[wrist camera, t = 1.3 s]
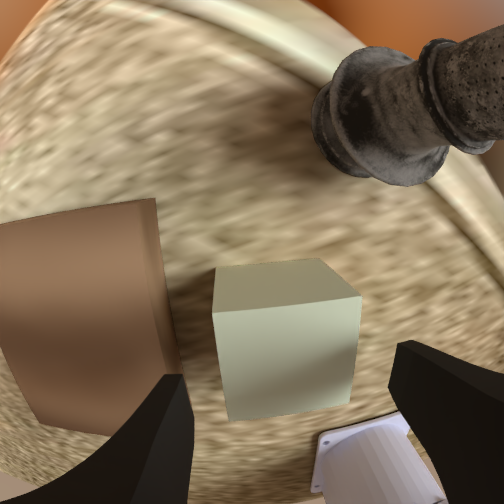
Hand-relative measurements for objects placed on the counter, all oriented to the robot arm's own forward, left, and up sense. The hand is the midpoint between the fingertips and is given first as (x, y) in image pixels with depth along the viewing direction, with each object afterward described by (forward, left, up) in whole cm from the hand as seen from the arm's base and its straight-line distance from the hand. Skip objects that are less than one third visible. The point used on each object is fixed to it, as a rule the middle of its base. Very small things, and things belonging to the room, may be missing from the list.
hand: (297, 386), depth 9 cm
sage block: (0, 0, -6) cm, 6 cm away
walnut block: (0, +10, -6) cm, 12 cm away
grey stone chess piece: (+9, -5, -6) cm, 12 cm away
